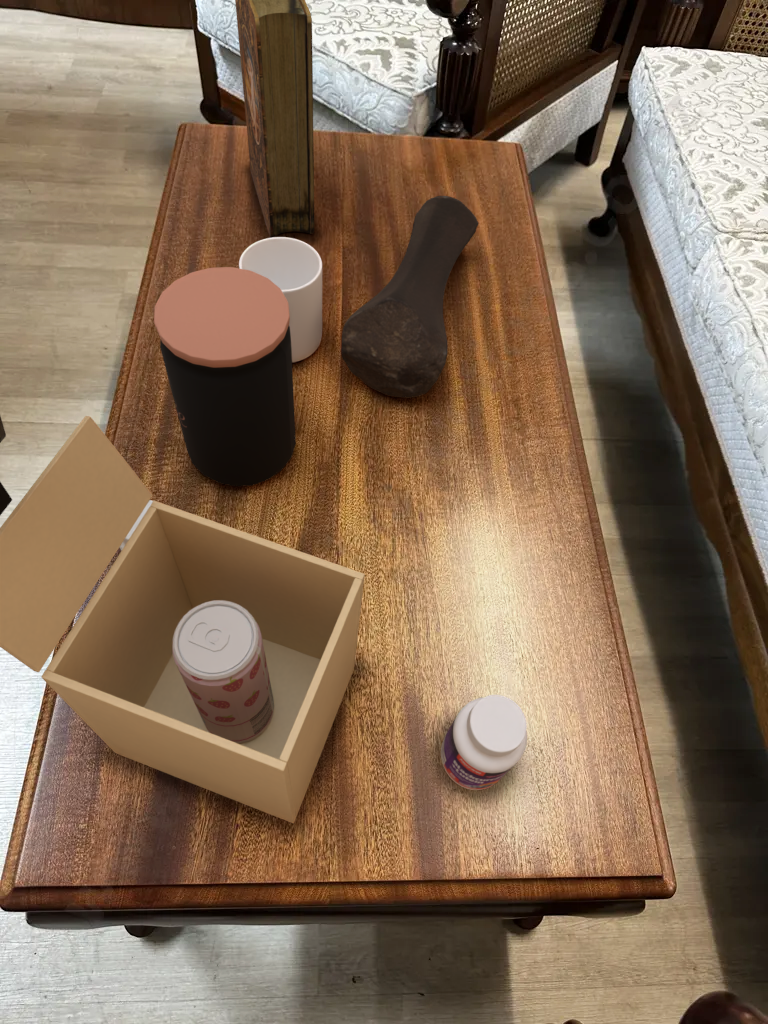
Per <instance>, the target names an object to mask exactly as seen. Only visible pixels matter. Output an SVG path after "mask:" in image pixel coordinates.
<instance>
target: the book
mask: <svg viewBox="0 0 768 1024" xmlns="http://www.w3.org/2000/svg"><path fill="white" fill-rule="evenodd" d="M234 2H235V3H234V5H235V13H236V23H237V24H236V25H237V35H238V47H239V58H240V69H241V70H240V71H241V78H242V79H241V81H242V90H243V102H244V103H243V104H244V114H245V124H246V134H247V135H246V136H247V146H248V157H249V168H250V173H251V177H252V181H253V184H254V188H255V191H256V195H257V198H258V201H259V205H260V209H261V212H262V215H263V219H264V223H265V226H266V229H267V233H268V236H269V238H272V237H277V236H278V235H280V234H284V233H288V232H299V233H306V234H310V235H313V234H315V156H314V155H315V154H314V153H315V149H314V145H315V144H314V79H313V78H314V74H313V73H314V71H313V68H314V67H313V66H314V65H313V19H312V18H313V17H312V14H311V11H310V9H309V6H308V4H307V2H306V0H234Z"/></svg>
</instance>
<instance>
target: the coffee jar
mask: <svg viewBox="0 0 768 1024" xmlns="http://www.w3.org/2000/svg"><path fill="white" fill-rule="evenodd" d="M289 321H290V315H289V303H288V301H287V299H286V298H285V296H284V294H283V292H282V291H281V289H280V288H279V287H278V286H276V285H275V284H274V283H273V282H272V281H271V280H269V279H268V278H266V277H264V276H262V275H259V274H257V273H255V272H253V271H250V270H245V269H239V267H233V266H222V267H221V266H218V267H217V266H216V267H208V268H204V269H200V270H196V271H192V272H189V273H187V274H186V275H183V276H181V277H179V278H178V279H175V280H173V282H172V283H170V284H169V285H168V286H167V287H166V288H165V289H164V290H163V291H162V292H161V293H160V296H159V298H158V300H157V301H156V303H155V304H154V314H153V324H154V326H155V329H156V331H157V333H158V336H159V338H160V339H159V340H160V341H159V348H160V351H161V357H162V359H163V363H164V364H163V365H164V368H165V371H166V376H167V379H168V383H169V387H170V390H171V395H172V398H173V399H172V400H173V402H174V405H175V410H176V414H177V417H178V421H179V425H180V430H181V433H182V437H183V441H184V445H185V448H186V453H187V454H188V456H189V459H190V461H191V464H192V465H193V466H194V467H195V468H196V469H197V470H198V471H199V472H200V473H201V474H202V475H203V476H205V477H206V478H209V479H210V480H212V481H213V482H216V483H217V484H222V485H226V486H231V487H251V486H252V487H253V486H255V485H258V484H261V483H264V482H267V481H268V480H270V479H271V478H274V476H276V475H277V474H279V473H280V472H282V471H283V470H284V468H285V467H286V465H287V464H288V463H289V461H290V460H291V459H292V458H293V454H294V451H295V448H296V445H297V439H296V419H295V418H296V417H295V416H296V415H295V396H294V378H293V377H294V374H293V362H292V350H291V335H290V326H289Z"/></svg>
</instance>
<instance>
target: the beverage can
mask: <svg viewBox="0 0 768 1024" xmlns="http://www.w3.org/2000/svg"><path fill="white" fill-rule="evenodd" d="M173 657H174V661H175V663H176V665H177V667H178V669H179V672H180V674H181V676H182V678H183V680H184V682H185V684H186V686H187V688H188V691H189V693H190V695H191V697H192V699H193V701H194V703H195V705H196V707H197V709H198V712H199V714H200V716H201V718H202V720H203V722H204V724H205V726H206V728H207V730H208V731H209V732H210V733H212V734H214V735H217V736H219V737H222V738H225V739H227V740H230V741H232V742H235V743H238V744H239V743H244V742H248V741H250V740H252V739H254V738H256V737H257V736H259V735H260V734H261V733H262V732H263V731H264V730H265V729H266V728H267V726H268V725H269V723H270V721H271V719H272V716H273V712H274V698H273V693H272V688H271V683H270V677H269V672H268V667H267V662H266V657H265V651H264V646H263V641H262V636H261V632H260V629H259V626H258V624H257V622H256V621H255V619H254V618H253V616H252V615H251V614H250V613H249V612H248V611H247V610H246V609H245V608H243V607H242V606H240V605H238V604H236V603H233V602H230V601H224V600H214V601H209V602H205V603H203V604H200V605H198V606H196V607H194V608H193V609H191V610H190V611H189V612H188V613H186V614H185V615H184V616H183V618H182V619H181V620H180V622H179V623H178V625H177V627H176V629H175V631H174V636H173Z"/></svg>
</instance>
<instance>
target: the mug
mask: <svg viewBox="0 0 768 1024" xmlns="http://www.w3.org/2000/svg"><path fill="white" fill-rule="evenodd" d="M238 268H239V269H245V270H250V271H253V272H255V273H257V274H259V275H262V276H264V277H266V278H268V279H269V280H271V281H272V282H273V283H274V284H275V285H276V286H278V287H279V288H280V289H281V291H282V292H283V294H284V296H285V298H286V299H287V301H288V303H289V315H290V321H289V326H290V335H291V350H292V363H297V362H300V361H303V360H305V359H307V358H309V357H310V356H312V355H313V354H314V353H315V352H316V351H317V349H318V348H319V347H320V344H321V342H322V337H323V260H322V258H321V255H320V254H319V252H318V251H317V250H316V249H315V248H314V247H313V246H312V245H310V244H309V243H306V242H305V241H303V240H300V239H297V238H294V237H286V236H275V237H272V238H270V237H267V238H263V239H260V240H257V241H255V242H254V243H252V244H250V245H249V246H248V247H247V248H245V250H243V252H242V253H241V255H240V256H239V261H238Z"/></svg>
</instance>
